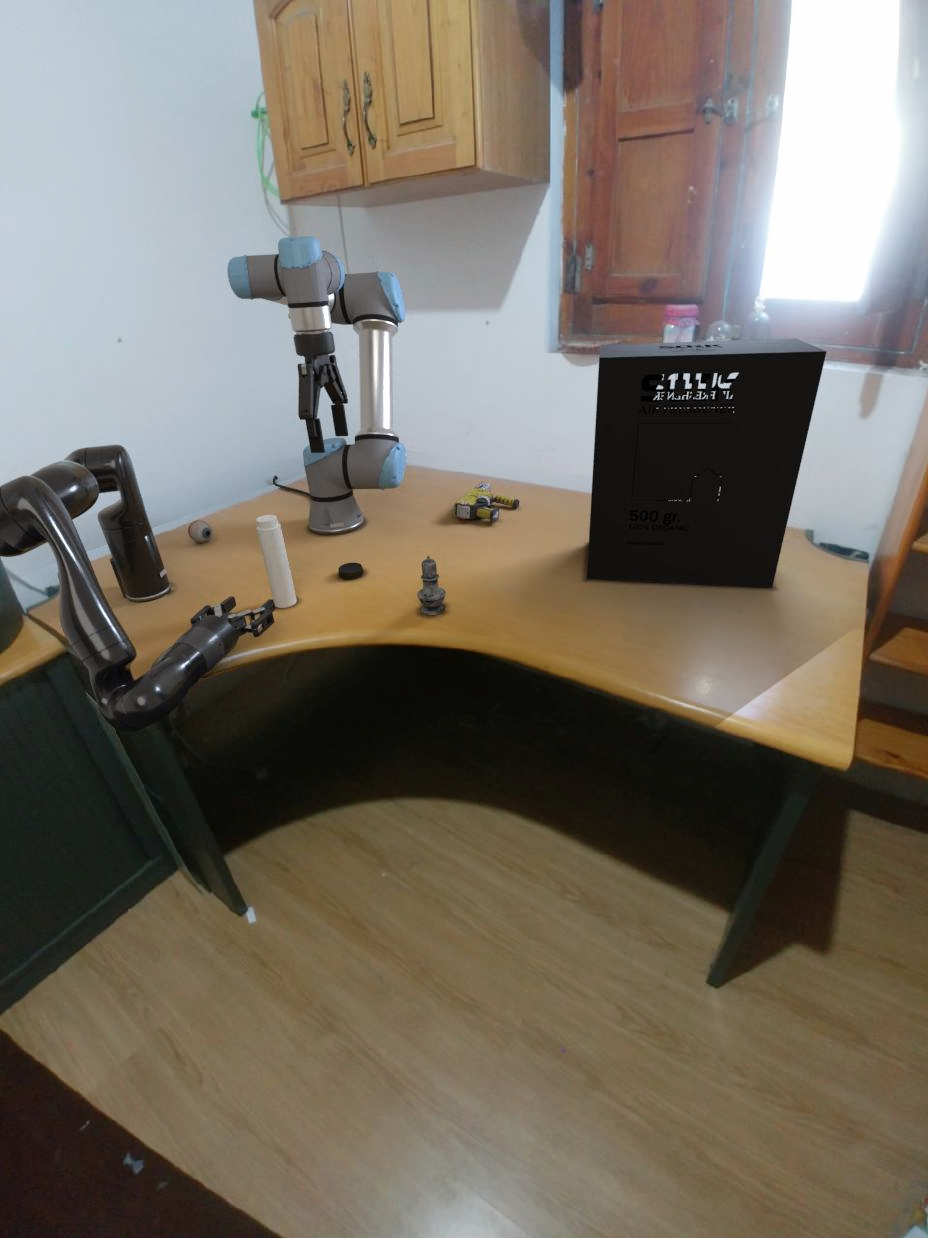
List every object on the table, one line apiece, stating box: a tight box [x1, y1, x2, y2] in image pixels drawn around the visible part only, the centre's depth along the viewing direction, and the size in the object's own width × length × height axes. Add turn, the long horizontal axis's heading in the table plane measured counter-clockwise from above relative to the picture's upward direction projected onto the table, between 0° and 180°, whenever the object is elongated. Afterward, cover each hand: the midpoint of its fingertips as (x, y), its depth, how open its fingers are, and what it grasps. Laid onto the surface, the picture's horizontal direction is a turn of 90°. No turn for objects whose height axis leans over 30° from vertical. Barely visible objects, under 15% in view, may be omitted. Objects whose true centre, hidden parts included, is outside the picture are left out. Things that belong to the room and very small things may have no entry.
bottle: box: [255, 514, 298, 609], centre depth 125 cm, size 5×5×19 cm
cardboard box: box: [586, 338, 828, 589], centre depth 126 cm, size 38×20×45 cm, turn 78°
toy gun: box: [453, 481, 520, 524], centre depth 173 cm, size 5×24×15 cm
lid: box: [338, 562, 364, 581], centre depth 140 cm, size 6×6×2 cm
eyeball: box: [187, 519, 213, 544], centre depth 162 cm, size 6×6×6 cm
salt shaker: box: [416, 555, 447, 616], centre depth 121 cm, size 6×6×12 cm
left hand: (252, 601), depth 118 cm, fingers open, 8 cm apart
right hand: (330, 443), depth 126 cm, fingers open, 13 cm apart
